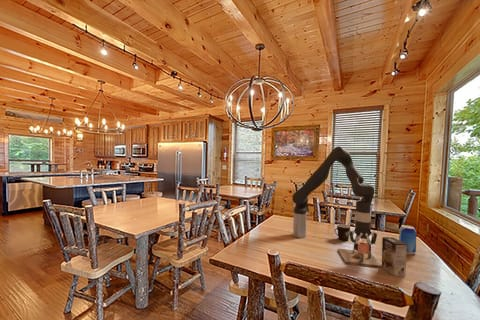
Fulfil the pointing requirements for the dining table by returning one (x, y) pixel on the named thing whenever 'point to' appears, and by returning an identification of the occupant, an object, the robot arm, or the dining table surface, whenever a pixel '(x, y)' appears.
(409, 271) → the dining table surface
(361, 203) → the robot arm
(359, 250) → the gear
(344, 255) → the carrier
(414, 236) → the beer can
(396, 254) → the coffee box
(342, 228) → the coffee mug
